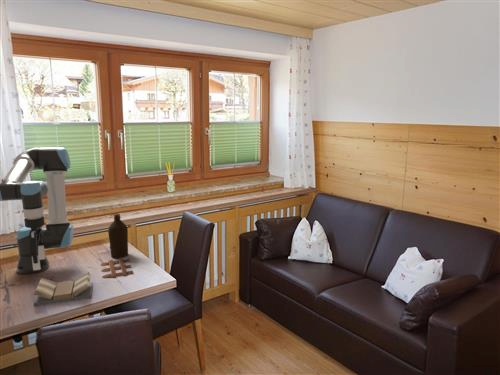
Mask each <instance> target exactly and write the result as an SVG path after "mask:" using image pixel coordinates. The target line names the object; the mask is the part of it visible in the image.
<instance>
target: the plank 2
mask: <svg viewBox="0 0 500 375" xmlns="http://www.w3.org/2000/svg"><path fill="white" fill-rule="evenodd" d="M91 276H92V275H91V274H90V272H89V271H87V272H86V273H84V274H83V275H81V276H79V277H78V278H76V279H75V280H74V288H73V292H72V293H73V294H74V295H75V296H76V295H78V294H79V293H81V292H82V291H84V290H85V289H87V288H88V287H89V285H90V282H91Z"/></svg>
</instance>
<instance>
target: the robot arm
mask: <svg viewBox="0 0 500 375" xmlns="http://www.w3.org/2000/svg"><path fill="white" fill-rule="evenodd" d="M12 163H13V165H12V167H11V168H10V169H9V171H8V172H7V173H6V175H5V177H4V178H3V179H2V180H1V182H0V202H4V201H21V203H22V210H21V213H23V217H24V219H23V221H24V226H22V227H21V228H18V229H17V231H16V241H17V249H18V260H17V264H16V272H17V273H18V274H21V275H28V274H29V275H31V274H35V273H40V272H43V271H45V270H47V269H48V268H49V267H50V261H49V259H48V257H47V256H46V253H45V250H49V249H62V248H63V249H64V248H69V247H70V246H71V245H72V244H73V240H74V233H75V232H74V225H72V224H71V222H70V221H69V219H67V203H66V202H67V201H66V183H65V182H66V180H65V175H66V174H67V173H68V170H69V169H70V168H71V159H70V155H69V152H68V150H67V149H66V148H65V147H60V146H59V147H58V146H54V147H52V146H51V147H50V146H49V147H48V146H47V147H32V148H29V149H26V150H24V151H22V152H21V153H19V154H18V155H17V156H15V158H14V159H13V162H12ZM35 170H37V171H38V170H42V172H43V174H44V175H45V176H46V182H45V181H43V180H28V181H27V180H26V181H25V179H26V178H27V177H28V175H29V173H31V172H32V171H35ZM46 196H47V209H48V210H47V211H48V221H47V222H46V223H45V217H44V215H45V213H44V206H43V198H45V197H46ZM44 225H45V226H44Z"/></svg>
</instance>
